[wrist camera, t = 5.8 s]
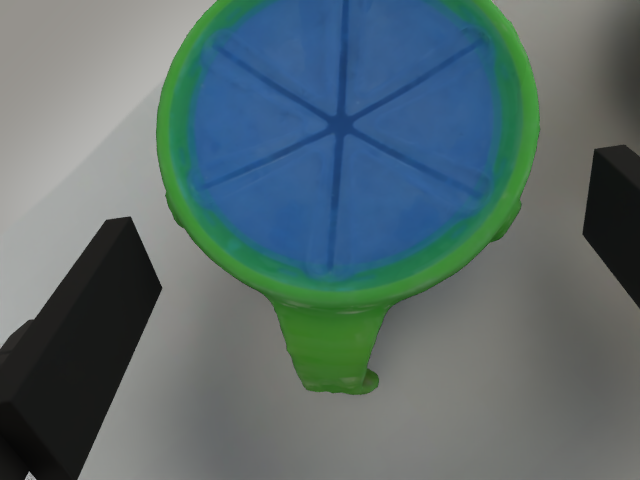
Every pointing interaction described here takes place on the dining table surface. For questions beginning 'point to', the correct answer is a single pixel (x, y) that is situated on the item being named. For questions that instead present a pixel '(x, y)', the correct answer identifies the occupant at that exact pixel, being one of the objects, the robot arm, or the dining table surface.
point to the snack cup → (346, 157)
